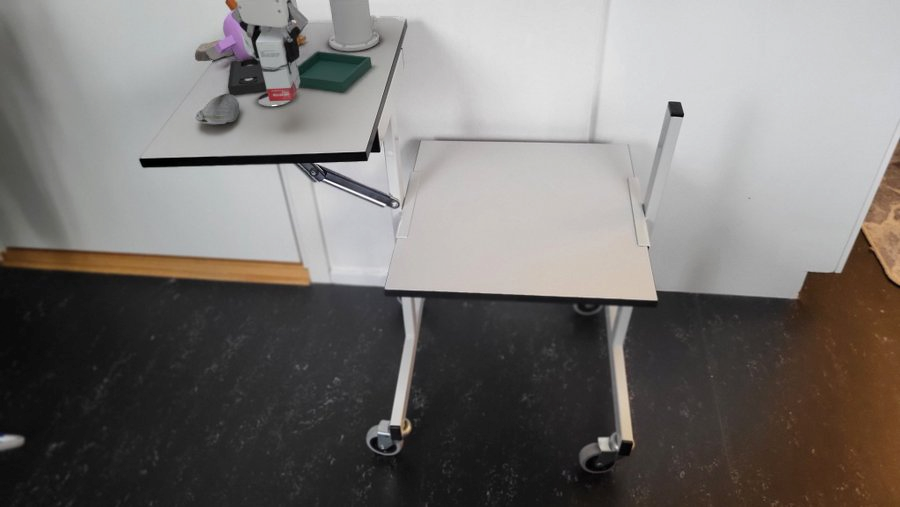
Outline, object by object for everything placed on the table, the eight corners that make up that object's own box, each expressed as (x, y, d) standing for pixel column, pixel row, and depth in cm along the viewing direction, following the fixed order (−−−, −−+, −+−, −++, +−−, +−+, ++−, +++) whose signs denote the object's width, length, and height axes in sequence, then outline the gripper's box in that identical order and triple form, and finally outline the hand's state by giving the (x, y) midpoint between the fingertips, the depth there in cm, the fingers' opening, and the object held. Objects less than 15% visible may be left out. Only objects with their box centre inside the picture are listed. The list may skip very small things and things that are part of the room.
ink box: (294, 100, 128) (281, 41, 120) (268, 102, 128) (253, 42, 120) (301, 81, 134) (289, 23, 127) (277, 82, 134) (263, 24, 127)
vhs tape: (266, 90, 148) (264, 82, 147) (230, 95, 147) (227, 86, 146) (266, 65, 159) (264, 57, 158) (233, 69, 158) (230, 61, 157)
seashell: (214, 107, 143) (208, 85, 140) (250, 108, 142) (245, 86, 139) (190, 134, 134) (183, 111, 131) (229, 135, 133) (222, 112, 130)
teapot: (213, 11, 148) (197, 29, 158) (241, 63, 151) (224, 78, 161) (286, -15, 158) (267, 4, 169) (311, 35, 162) (291, 51, 172)
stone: (201, 65, 162) (197, 51, 160) (193, 60, 165) (189, 46, 162) (245, 50, 167) (242, 37, 165) (237, 46, 170) (233, 32, 168)
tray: (318, 61, 161) (317, 51, 159) (371, 67, 156) (370, 57, 155) (288, 85, 150) (285, 75, 149) (343, 92, 146) (341, 82, 145)
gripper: (310, -45, 115) (327, 54, 127) (226, -51, 120) (250, 45, 132) (287, -31, 110) (307, 71, 121) (201, -38, 115) (228, 61, 126)
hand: (277, 57), depth 126 cm, fingers closed on ink box, 6 cm apart
